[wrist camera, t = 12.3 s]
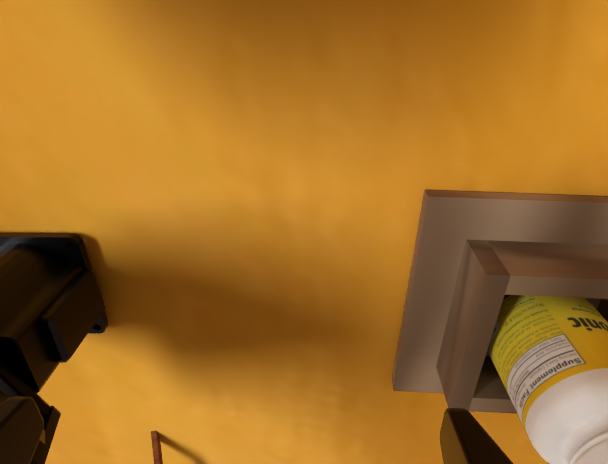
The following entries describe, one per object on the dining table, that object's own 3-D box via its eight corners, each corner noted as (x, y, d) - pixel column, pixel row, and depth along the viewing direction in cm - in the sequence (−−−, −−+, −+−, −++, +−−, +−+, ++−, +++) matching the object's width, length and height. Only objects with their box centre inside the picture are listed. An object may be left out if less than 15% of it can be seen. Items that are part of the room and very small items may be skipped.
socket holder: (391, 380, 27) (401, 434, 24) (424, 189, 20) (444, 227, 17) (602, 390, 26) (642, 447, 23) (701, 199, 20) (776, 240, 17)
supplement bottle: (602, 311, 23) (773, 504, 14) (514, 364, 25) (616, 561, 16) (543, 251, 21) (695, 427, 12) (454, 313, 23) (532, 501, 14)
